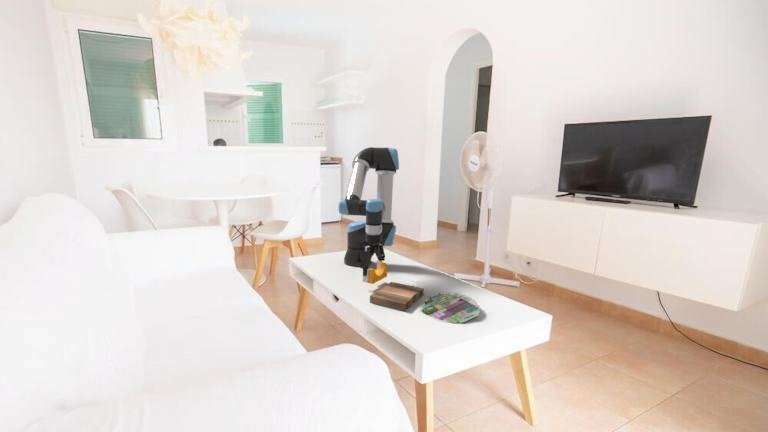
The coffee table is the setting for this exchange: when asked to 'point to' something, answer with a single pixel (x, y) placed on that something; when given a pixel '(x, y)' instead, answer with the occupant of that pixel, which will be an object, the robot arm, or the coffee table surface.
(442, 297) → the city model
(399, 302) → the board
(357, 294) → the coffee table surface
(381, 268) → the pipe clamp
